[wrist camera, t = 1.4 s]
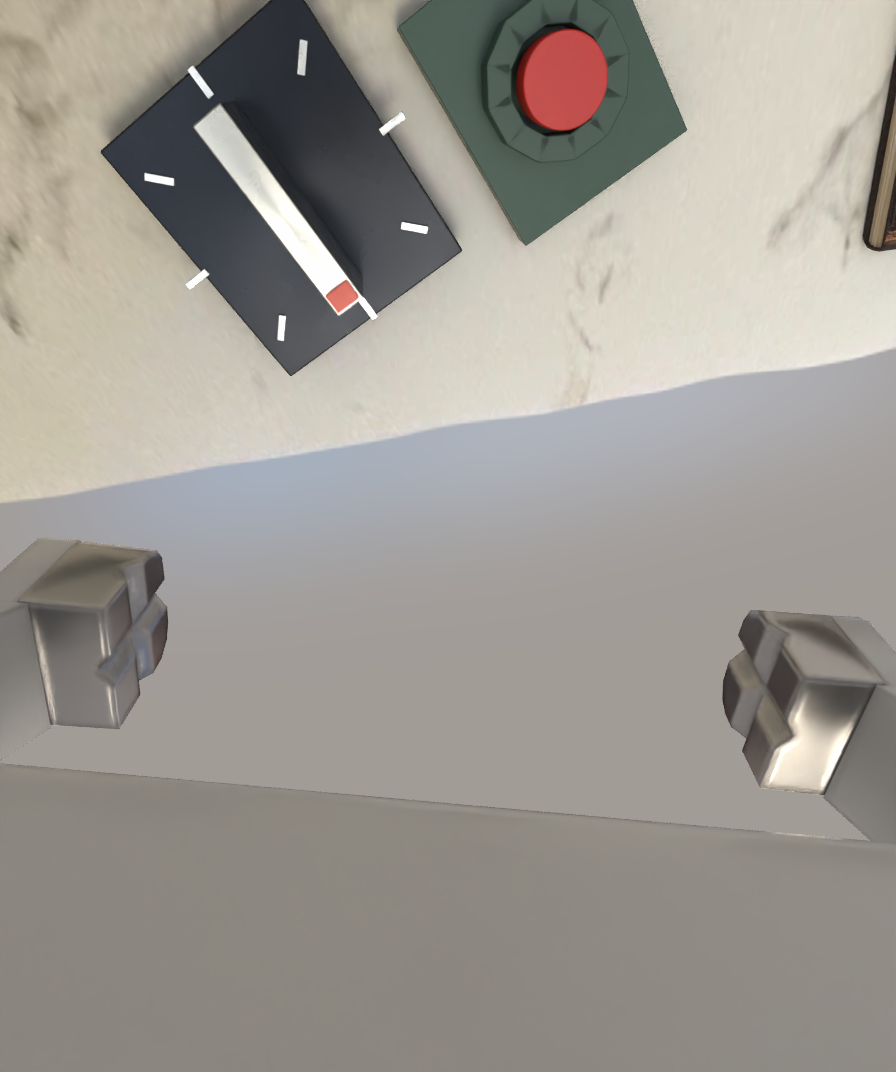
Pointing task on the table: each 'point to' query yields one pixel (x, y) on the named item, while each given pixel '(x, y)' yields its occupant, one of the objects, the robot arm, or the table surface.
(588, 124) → the button box
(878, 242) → the hardcover book
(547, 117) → the button
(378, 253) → the control panel
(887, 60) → the table surface
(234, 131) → the knob
